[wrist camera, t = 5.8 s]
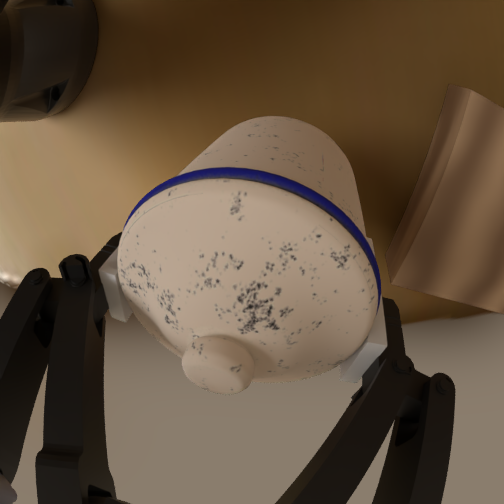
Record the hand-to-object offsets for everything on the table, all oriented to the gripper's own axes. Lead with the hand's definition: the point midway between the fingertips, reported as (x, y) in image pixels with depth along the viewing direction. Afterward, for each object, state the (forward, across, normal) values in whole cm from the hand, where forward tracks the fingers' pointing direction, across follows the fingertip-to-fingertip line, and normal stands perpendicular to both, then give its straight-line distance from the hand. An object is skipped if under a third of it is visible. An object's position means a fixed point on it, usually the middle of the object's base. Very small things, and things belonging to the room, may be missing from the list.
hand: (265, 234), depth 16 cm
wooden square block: (+10, +18, +2) cm, 21 cm away
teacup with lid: (+3, +1, 0) cm, 3 cm away
